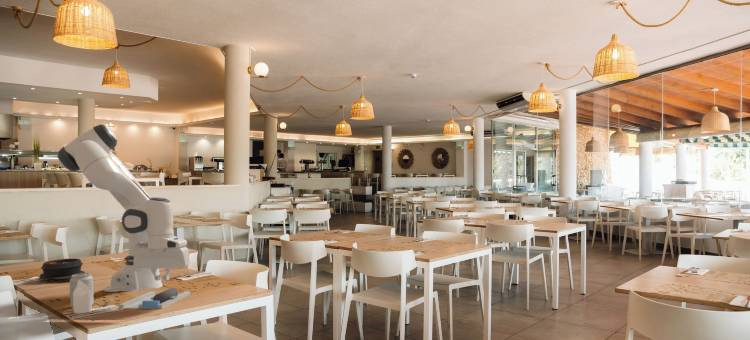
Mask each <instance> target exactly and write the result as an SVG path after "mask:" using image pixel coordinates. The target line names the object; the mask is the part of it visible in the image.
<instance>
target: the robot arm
mask: <svg viewBox="0 0 750 340" xmlns="http://www.w3.org/2000/svg"><path fill="white" fill-rule="evenodd" d="M117 143H118V139H117V136H116V133H115V132H114V130H112V129H111V128H110V127H108V126H106V124H98V125H97V124H96V125H95V126H93V127H92V128H91V129H88V130H86V131H85V132H82V133H81V134H79V135H78V136H77V137H75V138H74V139H73V140H72V141H70V142H69V143H67V144H66V145H65V146H62V147H61V148H60V149H59V150H58V152H57V155H56V156H57V159H58V161H59V164H60V165H61V166H62V167H63V168H65V169H66V170H68V171H69V172H78V171H80V172H81V173H82V174H83V175H84V177H85V178H86V179H87V181H88V182H89V183H90V184H91V185H92V186H94V187H95V188H97V189H100V190H104V191H108V192H109V193H110V194H111V196H113V198H114V199H115V200H116V201H117V202H118V203H119V204H120V205H121V207H122V208H123V209H124V210H125V211H124V213H123V214H122V217H121V225H122V228H123V230H125V231H126V232H127V233H128V255H127V256H126V257H123V262H125V264H124V265H123V266H122V267H120V269H118V270H117V271H116V272H115V273H113V275H111V278H110V285H108V286H107V287H105V288H104V292H106V293H108V292H109V293H116V292H119V291H124V292H126V291H127V292H135V291H141V290H149V289H160V288H162V287H164V285H163V283H162V280H163V281H169V280H170V275H171V273H172V270H173V269H185V268H187V267H189V266H190V262H191V260H190V259H191V258H190V252H189V248H188V247H187V245H188V241H187V239H184V238H181V237H178V236H175V235H174V230H173V225H174V211H173V205H172V202H171V200H170V199H167V198H164V197H151V196H150V195H149V194H148V192H147V191H146V190H145V188H144V187H143V186H142V185H141V183H140V182H139V181H138V180H137V179H136V177H135V176H134V174H132V172H131V171H130V170H129V169H128V168H127V167H126V166H125V164H124V163H123V162H122V161H121V159H120V158H119V157H118V156H116V155H115V154H114V153H113V152H114V151H116V149H115V148H116V146H117ZM111 150H112V151H113V152H112V151H111ZM160 269H164V270H165V274H164V275H161V274H160ZM161 276H162V277H161Z"/></svg>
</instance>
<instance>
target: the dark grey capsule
mask: <svg viewBox="0 0 750 340" xmlns="http://www.w3.org/2000/svg"><path fill="white" fill-rule="evenodd" d="M178 295H179V291H178V289H177V288H175V287H170V288H168V289H166V290H163V291H161V292H158V293H157V294H156V295H155V296H154V298H153V301H160V304H161V303H163V302H165V301H167V300H169V299H170V297H172V296H178Z"/></svg>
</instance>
